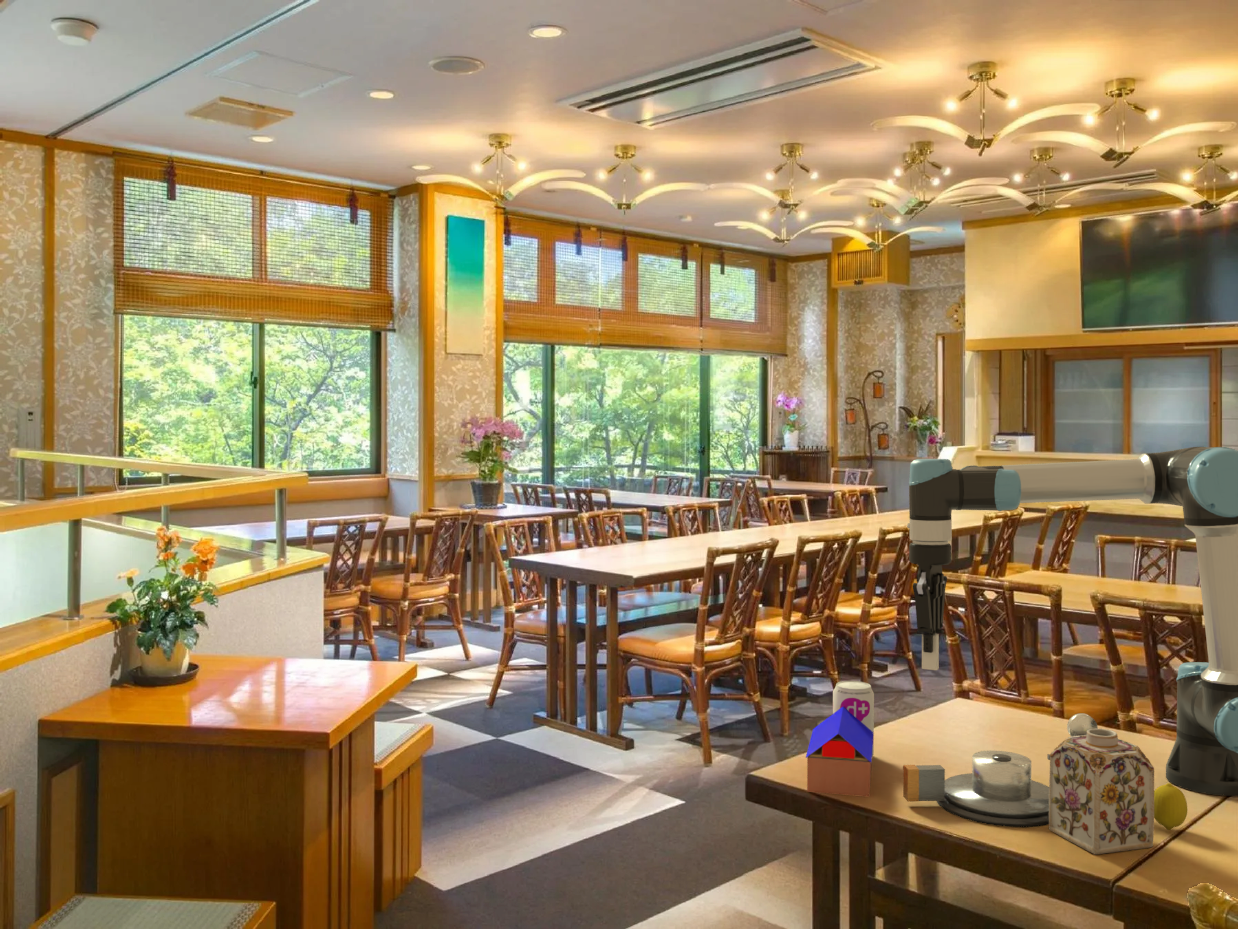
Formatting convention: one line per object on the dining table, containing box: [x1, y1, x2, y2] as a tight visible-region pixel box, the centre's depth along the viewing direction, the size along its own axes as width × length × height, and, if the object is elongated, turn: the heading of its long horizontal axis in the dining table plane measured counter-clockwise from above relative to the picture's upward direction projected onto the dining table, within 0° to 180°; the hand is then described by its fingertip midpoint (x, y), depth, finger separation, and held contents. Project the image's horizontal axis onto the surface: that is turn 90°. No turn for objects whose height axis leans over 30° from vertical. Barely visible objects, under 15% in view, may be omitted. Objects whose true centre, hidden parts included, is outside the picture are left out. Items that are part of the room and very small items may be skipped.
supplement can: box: [832, 680, 875, 758], centre depth 222 cm, size 8×8×15 cm
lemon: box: [1154, 782, 1188, 831], centre depth 182 cm, size 6×6×8 cm
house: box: [805, 706, 873, 797], centre depth 209 cm, size 12×20×12 cm, turn 166°
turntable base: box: [936, 799, 1049, 828], centre depth 194 cm, size 22×22×1 cm
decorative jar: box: [1048, 728, 1155, 856], centre depth 178 cm, size 12×12×18 cm
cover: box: [971, 750, 1032, 802], centre depth 194 cm, size 10×10×6 cm
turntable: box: [902, 764, 1049, 818], centre depth 194 cm, size 27×20×6 cm
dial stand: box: [1047, 713, 1099, 761], centre depth 196 cm, size 8×4×16 cm, turn 86°
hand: (930, 668), depth 200 cm, fingers closed
